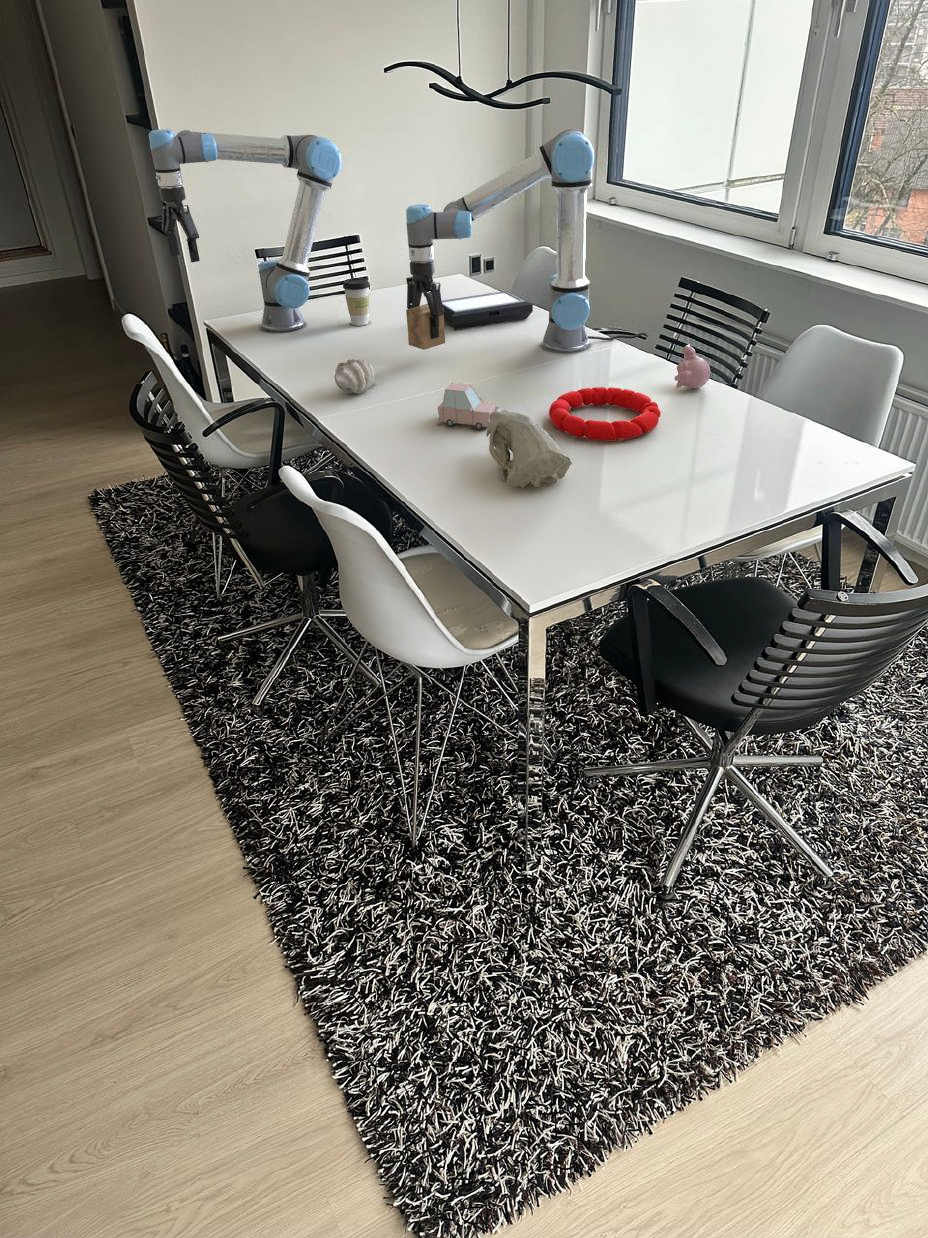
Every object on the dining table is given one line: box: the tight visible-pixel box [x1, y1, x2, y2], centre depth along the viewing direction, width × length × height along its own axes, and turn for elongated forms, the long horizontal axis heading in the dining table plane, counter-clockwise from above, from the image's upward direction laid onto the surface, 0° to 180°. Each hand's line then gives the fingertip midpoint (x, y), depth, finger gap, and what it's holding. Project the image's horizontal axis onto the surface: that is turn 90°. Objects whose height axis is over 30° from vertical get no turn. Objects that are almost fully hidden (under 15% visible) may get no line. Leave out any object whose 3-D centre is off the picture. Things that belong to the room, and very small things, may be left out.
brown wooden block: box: [405, 303, 446, 351], centre depth 284 cm, size 8×9×11 cm
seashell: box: [333, 359, 375, 394], centre depth 265 cm, size 10×15×10 cm
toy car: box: [437, 382, 499, 431], centre depth 243 cm, size 9×15×10 cm, turn 70°
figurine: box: [674, 344, 711, 390], centre depth 259 cm, size 9×11×12 cm
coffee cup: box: [342, 277, 371, 327], centre depth 323 cm, size 10×10×15 cm
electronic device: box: [441, 290, 534, 331], centre depth 325 cm, size 32×6×20 cm
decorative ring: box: [548, 386, 661, 442], centre depth 242 cm, size 7×30×30 cm
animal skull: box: [485, 409, 573, 489], centre depth 216 cm, size 17×25×20 cm
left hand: (185, 258), depth 289 cm, fingers open, 13 cm apart
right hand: (426, 335), depth 285 cm, fingers closed on brown wooden block, 8 cm apart
